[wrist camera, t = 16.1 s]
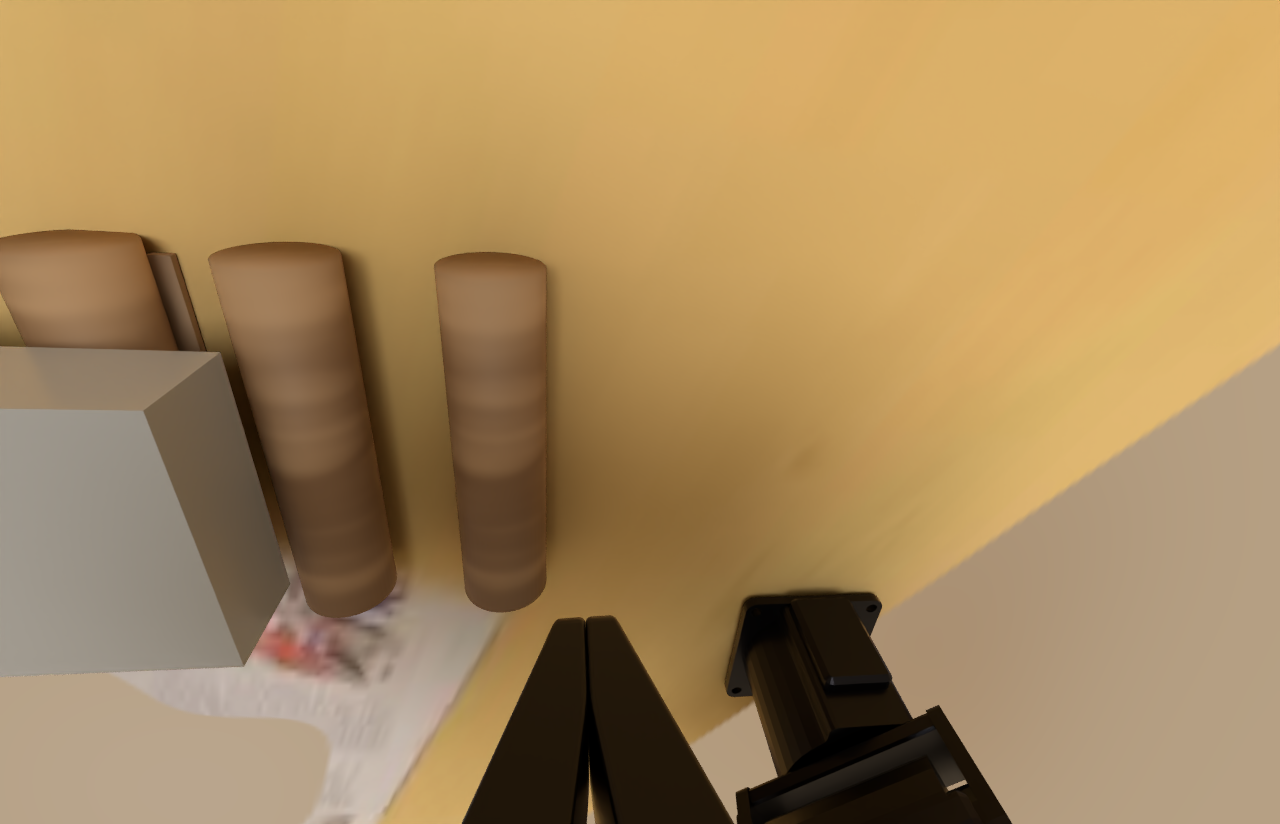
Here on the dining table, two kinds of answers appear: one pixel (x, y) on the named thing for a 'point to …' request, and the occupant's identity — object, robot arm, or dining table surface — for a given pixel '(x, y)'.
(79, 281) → the roller
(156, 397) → the slab
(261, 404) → the roller track
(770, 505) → the dining table surface
